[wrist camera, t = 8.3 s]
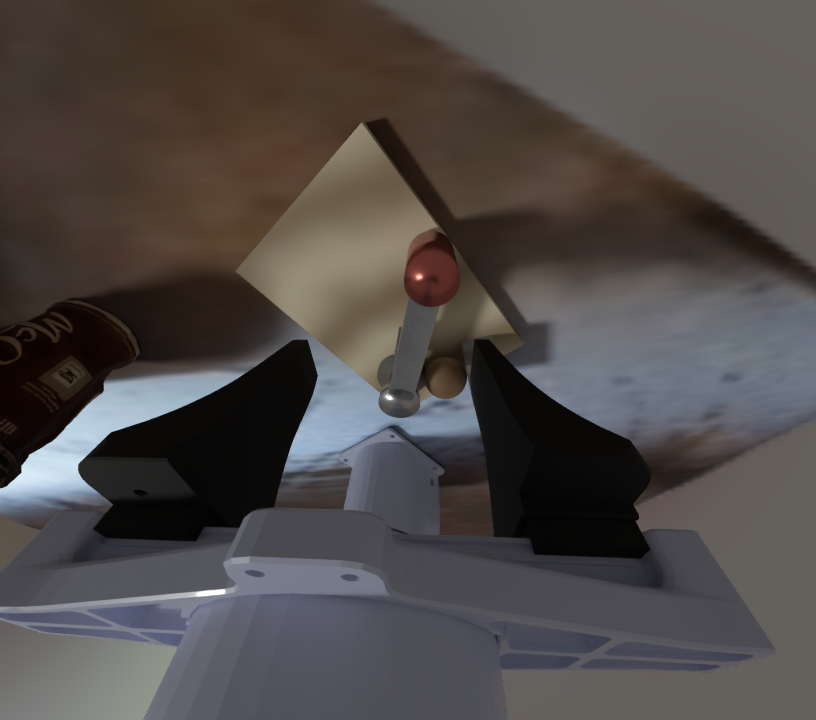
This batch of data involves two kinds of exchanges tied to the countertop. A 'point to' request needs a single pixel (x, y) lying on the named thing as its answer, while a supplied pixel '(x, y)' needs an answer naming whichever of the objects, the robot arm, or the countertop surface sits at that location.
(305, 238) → the cracker base
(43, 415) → the coffee cup
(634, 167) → the countertop surface
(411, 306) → the lever
